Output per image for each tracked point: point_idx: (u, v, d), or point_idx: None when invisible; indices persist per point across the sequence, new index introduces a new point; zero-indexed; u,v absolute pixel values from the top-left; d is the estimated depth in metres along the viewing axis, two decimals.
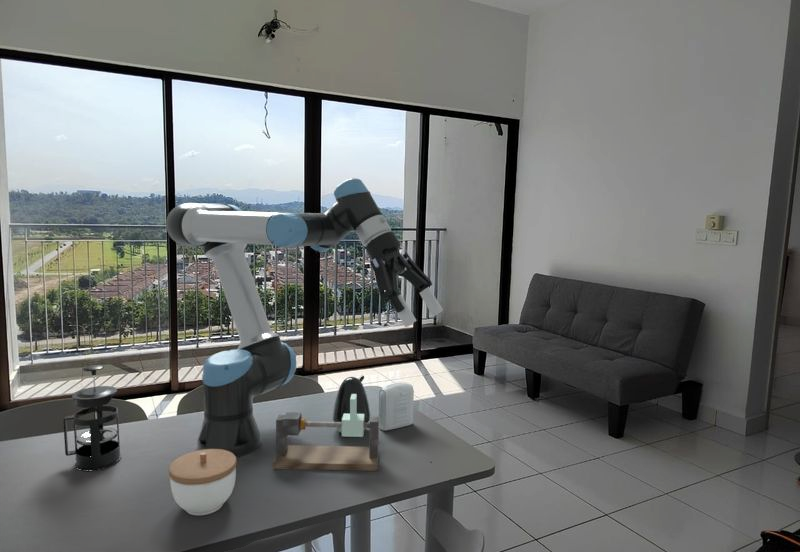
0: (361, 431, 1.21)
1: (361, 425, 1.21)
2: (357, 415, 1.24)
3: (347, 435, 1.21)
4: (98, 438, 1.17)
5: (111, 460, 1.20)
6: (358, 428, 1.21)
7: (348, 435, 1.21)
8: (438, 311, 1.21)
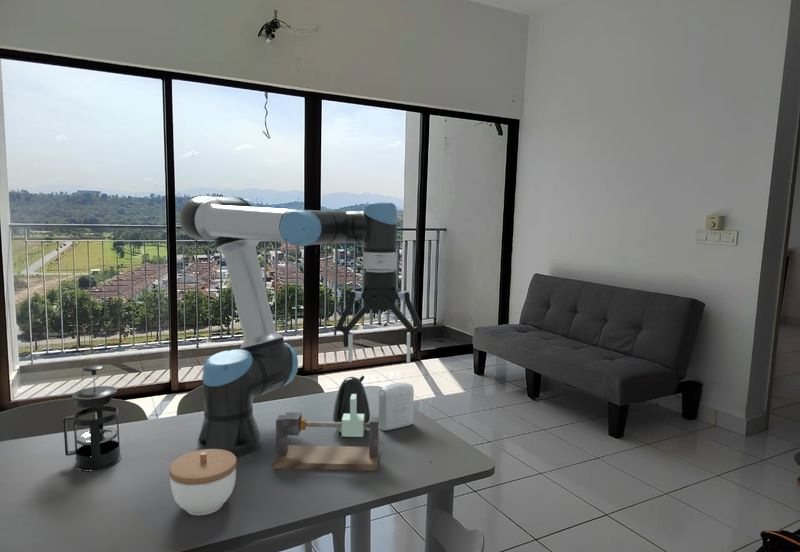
0: (361, 431, 1.21)
1: (361, 425, 1.21)
2: (357, 415, 1.24)
3: (347, 435, 1.21)
4: (98, 438, 1.17)
5: (111, 460, 1.20)
6: (358, 428, 1.21)
7: (348, 435, 1.21)
8: None
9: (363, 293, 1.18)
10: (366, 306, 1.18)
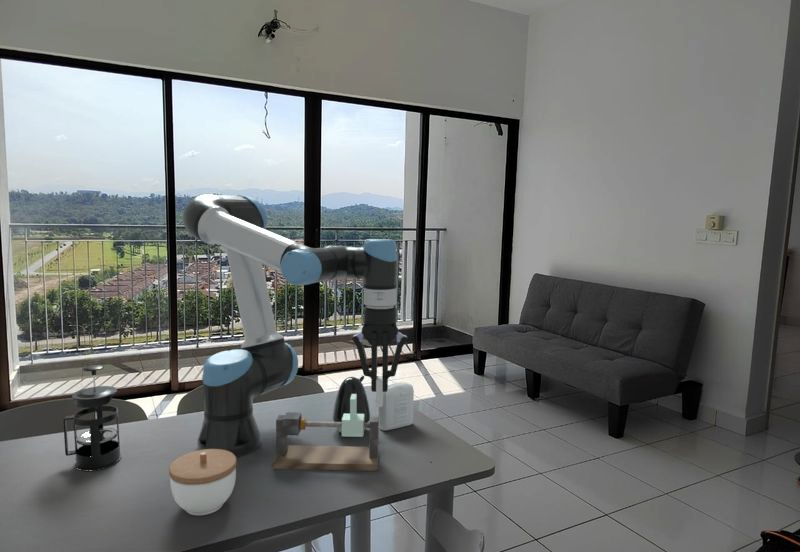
0: (361, 431, 1.21)
1: (361, 425, 1.21)
2: (357, 415, 1.24)
3: (347, 435, 1.21)
4: (98, 438, 1.17)
5: (111, 460, 1.20)
6: (358, 428, 1.21)
7: (348, 435, 1.21)
8: None
9: (362, 331, 1.19)
10: (373, 345, 1.19)
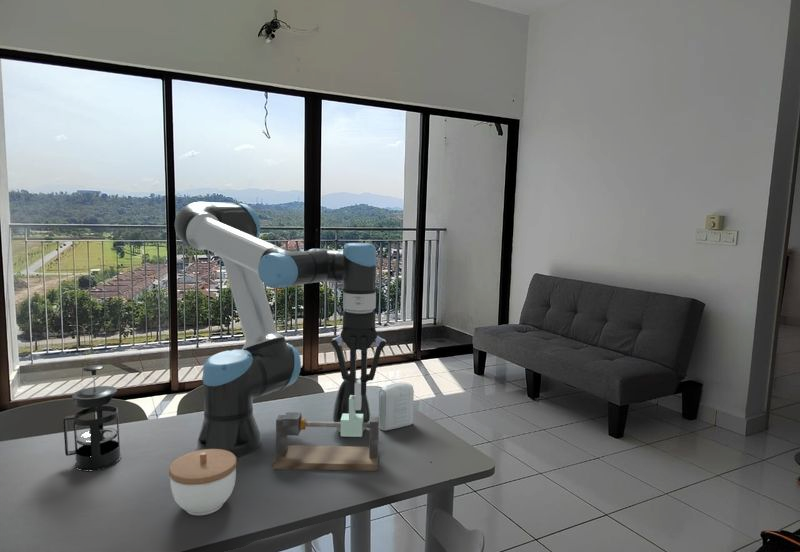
0: (360, 431, 1.21)
1: (360, 425, 1.21)
2: (356, 415, 1.24)
3: (346, 435, 1.21)
4: (98, 438, 1.17)
5: (111, 460, 1.20)
6: (357, 428, 1.21)
7: (347, 435, 1.21)
8: None
9: (341, 335, 1.20)
10: (351, 349, 1.19)
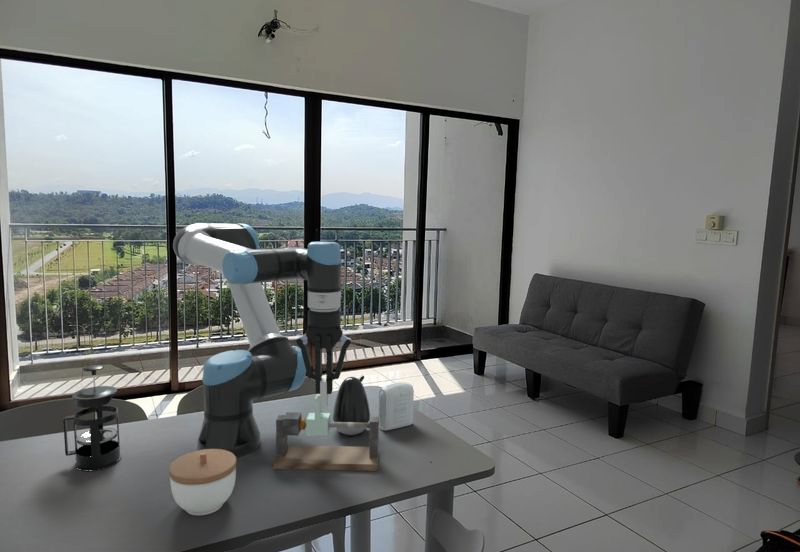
0: (326, 430, 1.21)
1: (326, 424, 1.21)
2: (322, 414, 1.24)
3: (312, 434, 1.21)
4: (98, 438, 1.17)
5: (111, 460, 1.20)
6: (323, 427, 1.21)
7: (313, 434, 1.21)
8: None
9: (306, 334, 1.20)
10: (316, 347, 1.19)
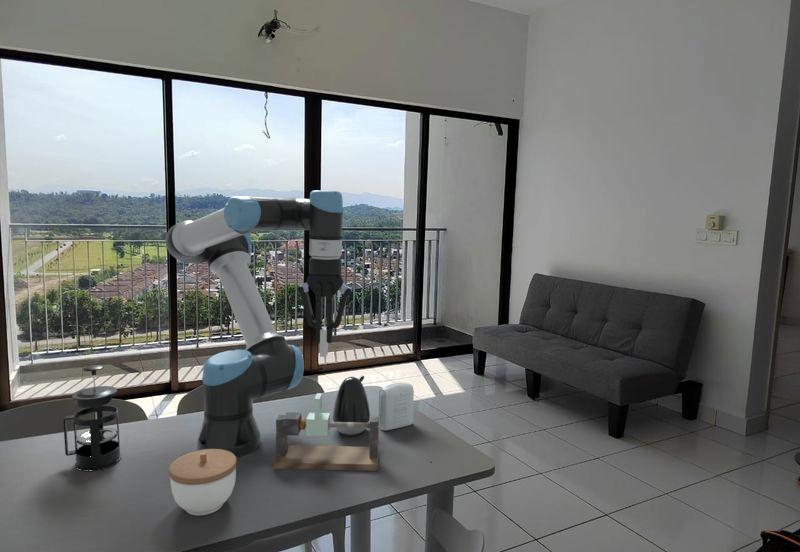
0: (326, 430, 1.21)
1: (326, 424, 1.21)
2: (322, 414, 1.24)
3: (312, 434, 1.21)
4: (98, 438, 1.17)
5: (111, 460, 1.20)
6: (323, 427, 1.21)
7: (313, 434, 1.21)
8: None
9: (307, 281, 1.21)
10: (317, 295, 1.21)
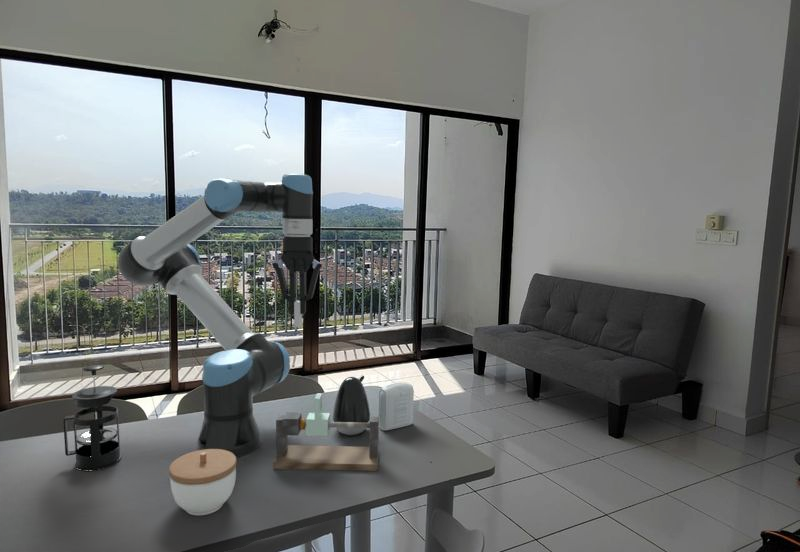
0: (326, 430, 1.21)
1: (326, 424, 1.21)
2: (322, 414, 1.24)
3: (312, 434, 1.21)
4: (98, 438, 1.17)
5: (111, 460, 1.20)
6: (323, 427, 1.21)
7: (313, 434, 1.21)
8: None
9: (281, 258, 1.32)
10: (290, 270, 1.32)
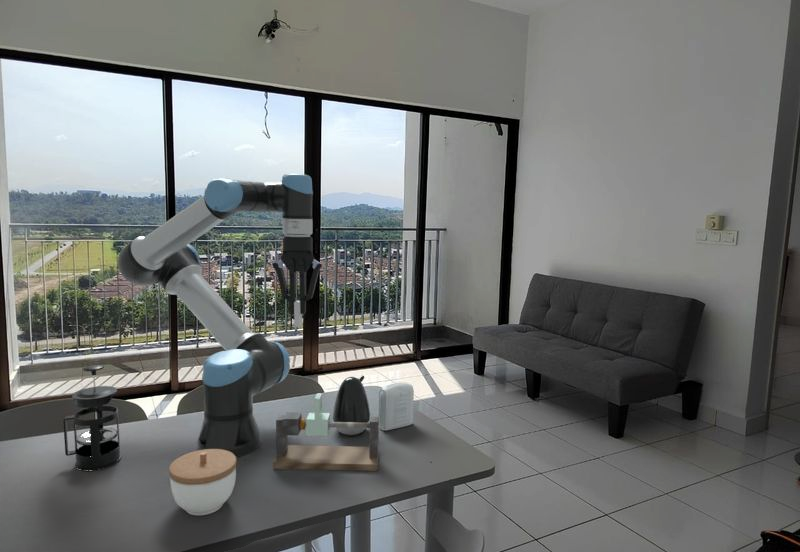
0: (326, 430, 1.21)
1: (326, 424, 1.21)
2: (322, 414, 1.24)
3: (312, 434, 1.21)
4: (98, 438, 1.17)
5: (111, 460, 1.20)
6: (323, 427, 1.21)
7: (313, 434, 1.21)
8: None
9: (281, 258, 1.33)
10: (290, 270, 1.32)
